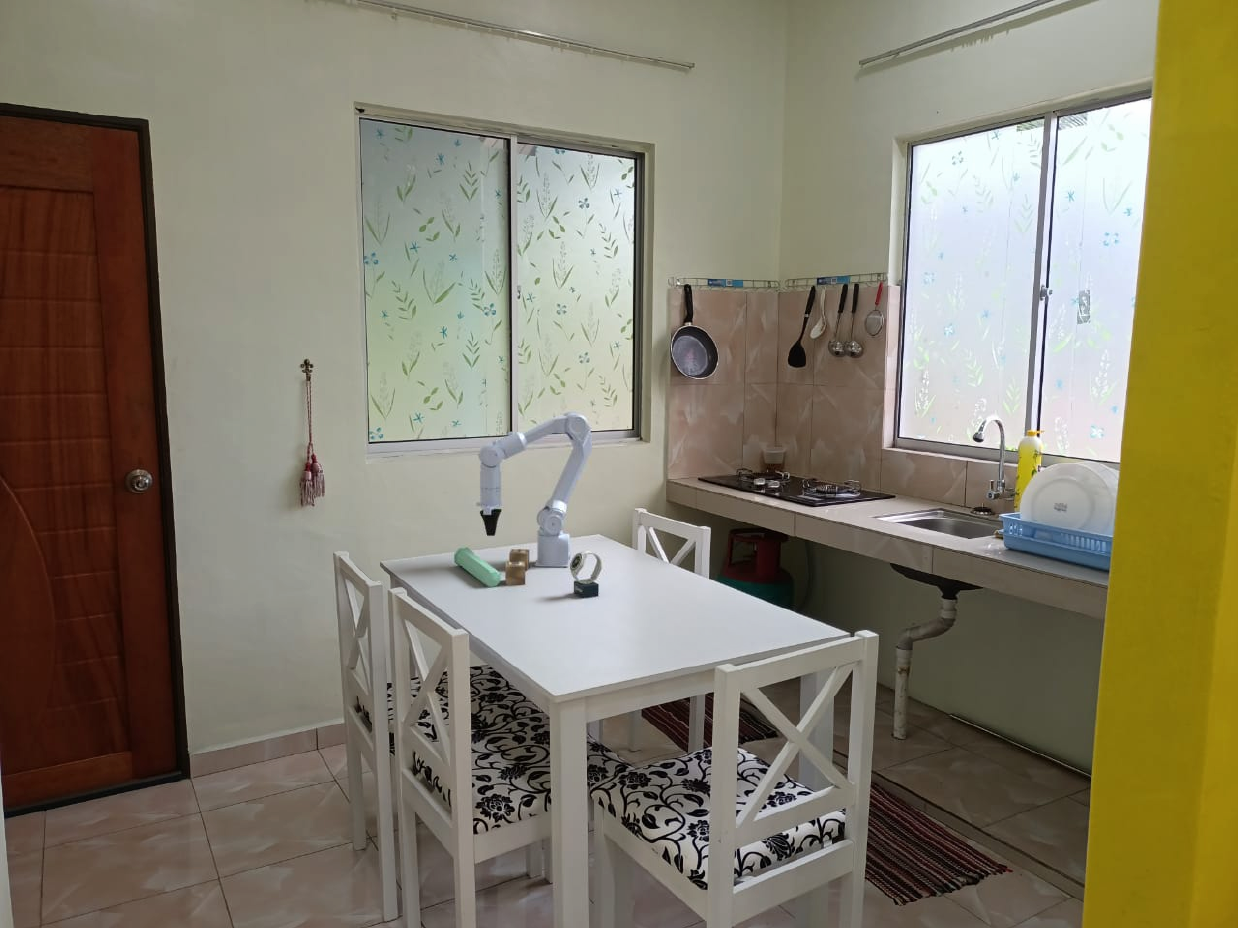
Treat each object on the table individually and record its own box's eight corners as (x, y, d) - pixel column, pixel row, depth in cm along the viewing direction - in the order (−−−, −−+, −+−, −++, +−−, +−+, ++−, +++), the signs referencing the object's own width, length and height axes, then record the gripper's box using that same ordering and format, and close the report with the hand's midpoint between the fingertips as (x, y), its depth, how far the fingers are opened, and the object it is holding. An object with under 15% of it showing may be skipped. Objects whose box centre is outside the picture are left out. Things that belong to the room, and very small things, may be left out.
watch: (566, 593, 230) (567, 551, 229) (595, 590, 234) (595, 548, 232) (575, 599, 225) (576, 555, 224) (604, 595, 229) (605, 552, 228)
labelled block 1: (529, 566, 257) (529, 548, 256) (527, 571, 252) (527, 552, 252) (511, 566, 257) (511, 548, 257) (509, 570, 252) (509, 552, 252)
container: (500, 564, 235) (468, 543, 257) (479, 575, 233) (450, 552, 254) (508, 584, 237) (476, 561, 259) (488, 594, 235) (458, 570, 256)
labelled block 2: (524, 579, 243) (524, 560, 242) (525, 584, 238) (525, 565, 237) (505, 580, 242) (505, 560, 241) (506, 585, 237) (506, 565, 237)
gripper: (480, 483, 260) (480, 529, 262) (471, 491, 246) (472, 540, 248) (504, 483, 260) (505, 530, 262) (498, 492, 246) (498, 541, 248)
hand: (491, 535), depth 255 cm, fingers closed
